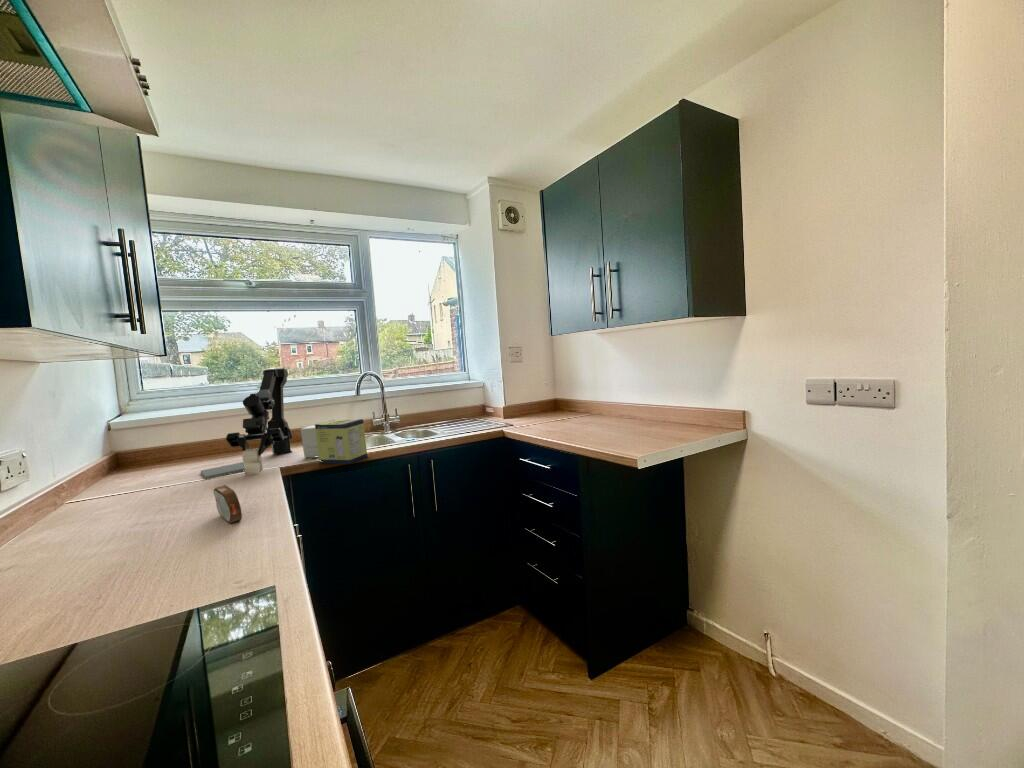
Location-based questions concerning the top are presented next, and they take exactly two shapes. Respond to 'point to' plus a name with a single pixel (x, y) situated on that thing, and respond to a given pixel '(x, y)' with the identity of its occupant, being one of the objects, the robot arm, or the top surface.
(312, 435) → the supplement box
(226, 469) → the rubber mat
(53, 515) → the top surface
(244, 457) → the cream rectangular block
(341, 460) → the protein box
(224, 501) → the tin
